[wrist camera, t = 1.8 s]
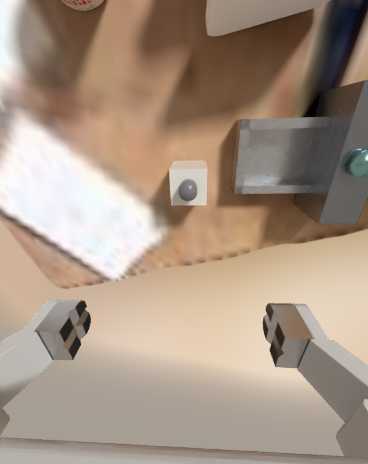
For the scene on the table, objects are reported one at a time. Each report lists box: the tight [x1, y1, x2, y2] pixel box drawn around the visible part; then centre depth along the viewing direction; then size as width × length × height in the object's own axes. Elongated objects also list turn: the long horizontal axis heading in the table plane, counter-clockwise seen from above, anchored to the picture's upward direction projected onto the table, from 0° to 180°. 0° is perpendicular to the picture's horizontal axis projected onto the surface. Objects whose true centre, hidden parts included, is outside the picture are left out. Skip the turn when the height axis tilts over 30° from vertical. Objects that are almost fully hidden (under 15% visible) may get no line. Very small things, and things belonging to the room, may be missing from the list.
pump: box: [169, 160, 207, 205], centre depth 29 cm, size 5×5×9 cm
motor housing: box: [231, 80, 368, 224], centre depth 27 cm, size 16×16×9 cm
